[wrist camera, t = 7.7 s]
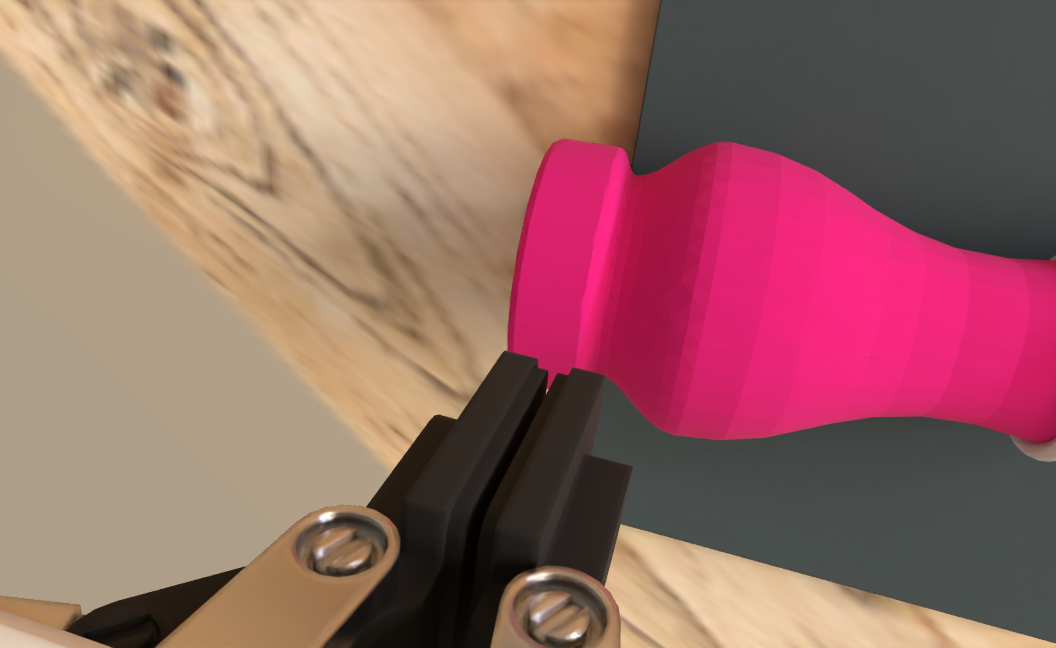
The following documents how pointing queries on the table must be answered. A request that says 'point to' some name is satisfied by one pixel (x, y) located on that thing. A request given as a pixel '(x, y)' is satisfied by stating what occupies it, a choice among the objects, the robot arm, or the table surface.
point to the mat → (918, 204)
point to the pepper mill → (773, 301)
